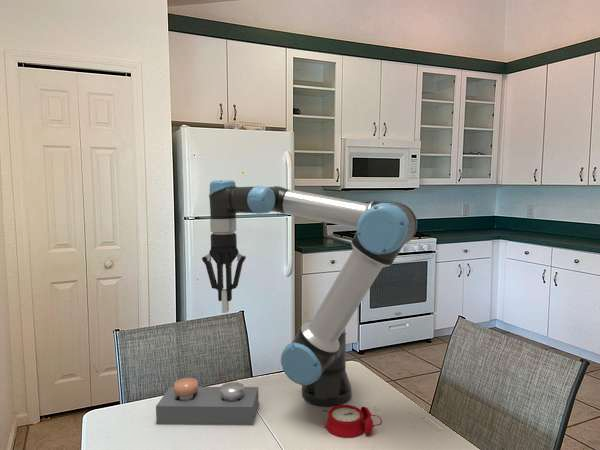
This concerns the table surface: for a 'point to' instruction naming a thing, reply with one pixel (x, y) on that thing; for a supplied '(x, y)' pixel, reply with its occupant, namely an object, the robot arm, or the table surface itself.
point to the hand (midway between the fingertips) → (225, 311)
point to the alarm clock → (349, 421)
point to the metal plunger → (232, 391)
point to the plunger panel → (208, 408)
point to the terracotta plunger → (186, 388)
